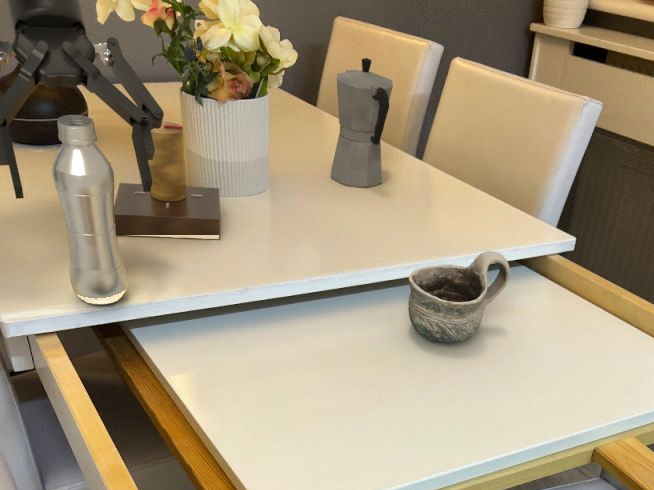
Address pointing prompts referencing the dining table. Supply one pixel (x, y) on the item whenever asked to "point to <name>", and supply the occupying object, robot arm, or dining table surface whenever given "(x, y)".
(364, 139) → the coffeepot
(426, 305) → the mug
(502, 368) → the dining table surface
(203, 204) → the dark brown flat block
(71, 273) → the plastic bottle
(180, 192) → the candle
